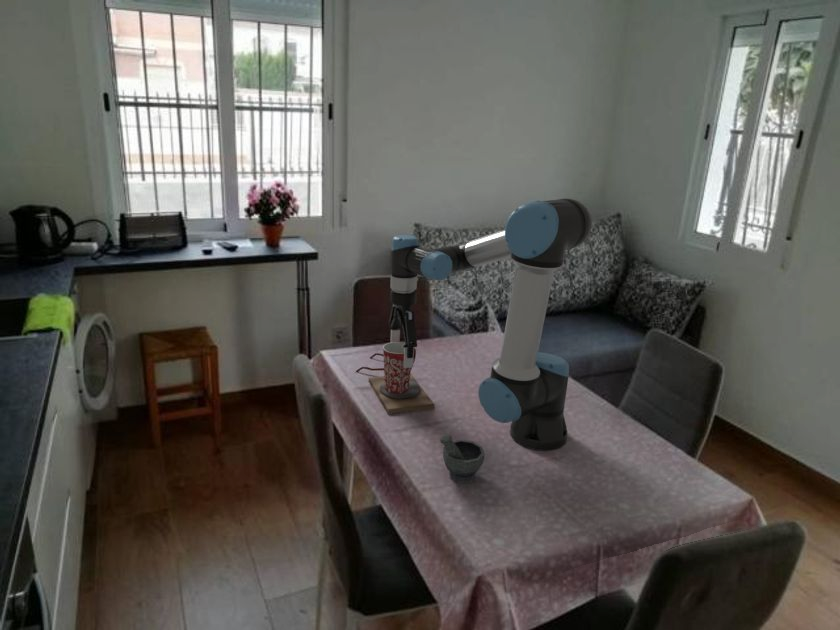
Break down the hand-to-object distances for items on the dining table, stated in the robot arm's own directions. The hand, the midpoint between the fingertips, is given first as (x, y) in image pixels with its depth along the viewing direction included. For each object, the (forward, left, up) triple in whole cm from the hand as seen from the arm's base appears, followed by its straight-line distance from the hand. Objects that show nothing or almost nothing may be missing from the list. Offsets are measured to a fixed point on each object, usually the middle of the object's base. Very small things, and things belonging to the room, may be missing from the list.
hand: (401, 358), depth 180 cm
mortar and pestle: (-45, -1, -12) cm, 46 cm away
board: (0, 0, -12) cm, 12 cm away
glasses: (+21, 0, -13) cm, 25 cm away
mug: (0, 0, -10) cm, 10 cm away
